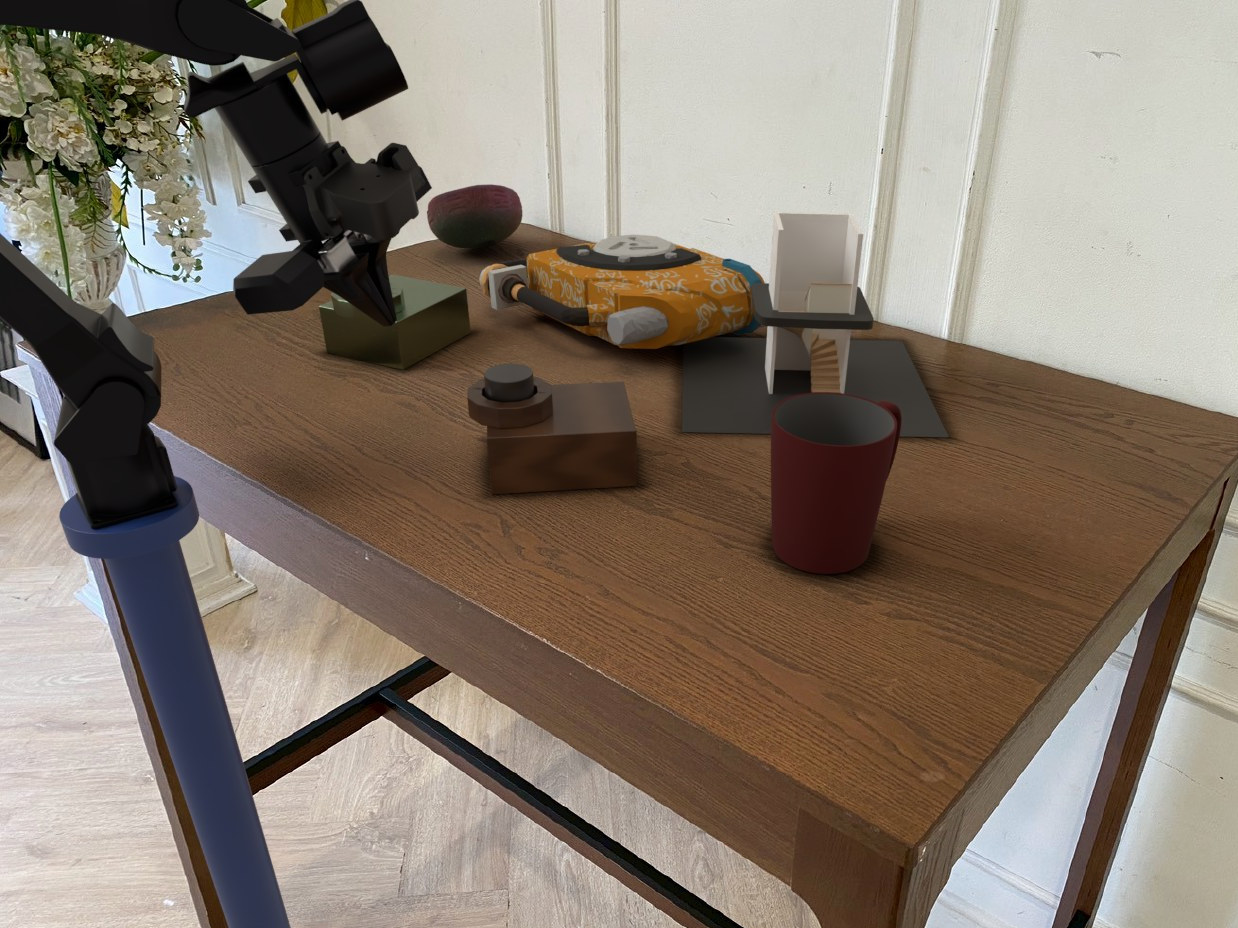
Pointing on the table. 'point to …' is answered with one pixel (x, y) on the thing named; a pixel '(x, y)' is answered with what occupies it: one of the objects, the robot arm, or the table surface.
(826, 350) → the dark square-based piece
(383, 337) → the green block
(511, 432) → the walnut block
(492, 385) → the black button
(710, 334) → the device
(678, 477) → the table surface
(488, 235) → the bowl
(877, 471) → the mug
